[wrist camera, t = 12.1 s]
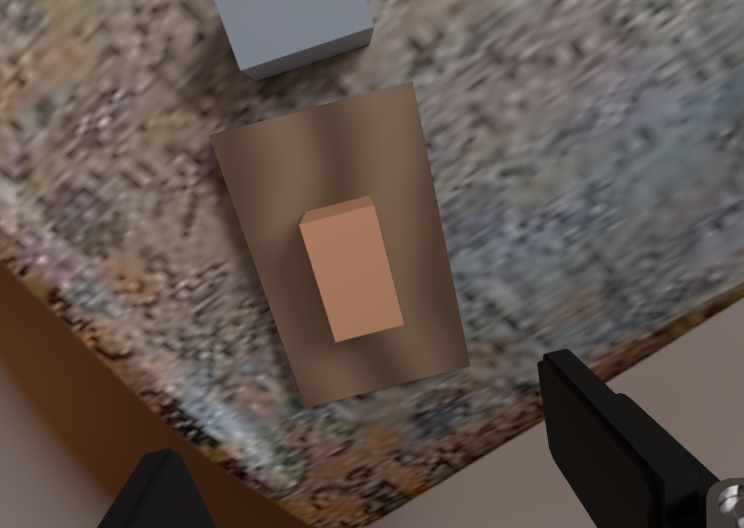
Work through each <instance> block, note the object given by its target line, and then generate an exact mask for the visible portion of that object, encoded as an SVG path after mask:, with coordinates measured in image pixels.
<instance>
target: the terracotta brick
mask: <svg viewBox="0 0 744 528" xmlns="http://www.w3.org/2000/svg"><path fill="white" fill-rule="evenodd" d="M299 226H300V229H301V233H302V236H303V239H304V242H305V245H306V249H307V252H308V255H309V258H310V262H311V265H312V268H313V271H314V274H315V278H316V281H317V284H318V287H319V291H320V294H321V297H322V300H323V303H324V307H325V310H326V313H327V316H328V320H329V323H330V326H331V329H332V332H333V336H334V339H335V342H339V341H343V340H347V339H350V338H354V337H358V336H362V335H366V334H370V333H374V332H378V331H382V330H385V329H389V328H393V327H397V326H401V325H404V323H403V319H402V315H401V311H400V307H399V303H398V299H397V295H396V291H395V287H394V283H393V279H392V275H391V271H390V267H389V263H388V259H387V255H386V251H385V247H384V243H383V239H382V235H381V231H380V227H379V223H378V219H377V215H376V211H375V207H374V204H373V202H372V200H371V197H370V195H369V196H365V197H361V198H357V199H353V200H349V201H346V202H342V203H338V204H334V205H330V206H327V207H323V208H319V209H315V210H311V211H307V212H306V213H305V215H304V217H303V219H302V220H301V222H300V224H299Z"/></svg>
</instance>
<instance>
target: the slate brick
mask: <svg viewBox="0 0 744 528" xmlns="http://www.w3.org/2000/svg"><path fill="white" fill-rule="evenodd" d="M215 3H216V6H217V9H218V11H219V14H220V17H221V19H222V22H223V25H224V28H225V30H226V33H227V36H228V38H229V41H230V44H231V47H232V49H233V52H234V55H235V57H236V60H237V63H238V65H239V68H240V71H242V72H243V73H245V74H246V75H248V76H249V77H251V78H252V79H254V80H255V81H258V80H261V79H264V78H268V77H271V76H274V75H277V74H280V73H283V72H286V71H289V70H292V69H295V68H298V67H301V66H304V65H307V64H310V63H313V62H316V61H319V60H323V59H326V58H329V57H332V56H335V55H338V54H341V53H344V52H347V51H350V50H353V49H356V48H359V47H362V46H365V45H368V44H370V41H371V37H372V33H373V29H374V24H373V20H372V17H371V13H370V9H369V5H368V2H367V0H215Z"/></svg>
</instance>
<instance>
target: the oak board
mask: <svg viewBox="0 0 744 528" xmlns="http://www.w3.org/2000/svg"><path fill="white" fill-rule="evenodd" d="M209 137H210V140H211V143H212V146H213V149H214V151H215V154H216V157H217V160H218V163H219V165H220V168H221V171H222V174H223V177H224V180H225V182H226V185H227V188H228V191H229V194H230V196H231V199H232V202H233V205H234V208H235V211H236V213H237V216H238V219H239V222H240V225H241V228H242V230H243V233H244V236H245V239H246V242H247V244H248V247H249V250H250V253H251V256H252V259H253V261H254V264H255V267H256V270H257V273H258V275H259V278H260V281H261V284H262V287H263V290H264V292H265V295H266V298H267V301H268V304H269V306H270V309H271V312H272V315H273V318H274V321H275V323H276V326H277V329H278V332H279V335H280V338H281V340H282V343H283V346H284V349H285V352H286V354H287V357H288V360H289V363H290V366H291V369H292V371H293V374H294V377H295V380H296V383H297V385H298V388H299V391H300V394H301V397H302V400H303V402H304V405H305V408H308V407H312V406H316V405H320V404H324V403H328V402H332V401H335V400H339V399H343V398H347V397H351V396H355V395H359V394H363V393H367V392H371V391H375V390H379V389H383V388H387V387H390V386H394V385H398V384H402V383H406V382H410V381H414V380H418V379H422V378H426V377H430V376H434V375H438V374H441V373H445V372H449V371H453V370H457V369H461V368H465V367H469V366H470V363H469V358H468V353H467V348H466V343H465V338H464V333H463V328H462V323H461V319H460V314H459V309H458V304H457V299H456V294H455V289H454V284H453V279H452V274H451V269H450V264H449V259H448V254H447V249H446V244H445V239H444V234H443V229H442V224H441V219H440V214H439V210H438V205H437V200H436V195H435V190H434V185H433V180H432V175H431V170H430V165H429V160H428V155H427V150H426V145H425V140H424V135H423V130H422V125H421V120H420V115H419V110H418V105H417V100H416V96H415V91H414V86H413V81H412V82H409V83H405V84H401V85H397V86H393V87H390V88H386V89H382V90H378V91H374V92H371V93H367V94H363V95H359V96H355V97H352V98H348V99H344V100H340V101H336V102H333V103H329V104H325V105H321V106H317V107H314V108H310V109H306V110H302V111H299V112H295V113H291V114H287V115H283V116H280V117H276V118H272V119H268V120H264V121H261V122H257V123H253V124H249V125H245V126H242V127H238V128H234V129H230V130H226V131H223V132H219V133H215V134H211V135H209ZM369 195H370V197H371V200H372V202H373V204H374V207H375V211H376V215H377V219H378V223H379V227H380V231H381V235H382V239H383V243H384V247H385V251H386V255H387V259H388V263H389V267H390V271H391V275H392V279H393V283H394V287H395V291H396V295H397V299H398V303H399V307H400V311H401V315H402V319H403V323H404V325H401V326H397V327H393V328H389V329H385V330H382V331H378V332H374V333H370V334H366V335H362V336H358V337H354V338H350V339H347V340H343V341H339V342H335V339H334V336H333V332H332V329H331V326H330V323H329V320H328V316H327V313H326V310H325V307H324V303H323V300H322V297H321V294H320V291H319V287H318V284H317V281H316V278H315V274H314V271H313V268H312V265H311V262H310V258H309V255H308V252H307V249H306V245H305V242H304V239H303V236H302V233H301V229H300V226H299V224H300V222H301V220H302V219H303V217H304V215H305V213H306V212H307V211H311V210H315V209H319V208H323V207H327V206H330V205H334V204H338V203H342V202H346V201H349V200H353V199H357V198H361V197H365V196H369Z"/></svg>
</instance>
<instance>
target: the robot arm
mask: <svg viewBox="0 0 744 528" xmlns="http://www.w3.org/2000/svg"><path fill="white" fill-rule="evenodd" d="M537 366H538V374H539V381H540V388H541V395H542V402H543V409H544V416H545V423H546V430H547V436H548V443H549V448H550V452H551V454H552V457H553V459H554V461H555V463H556V464H557V466H558V467H559V469H560V470H561V472H562V474H563V475H564V477H565V478H566V480H567V481H568V483H569V484H570V486H571V488H572V489H573V491H574V492H575V494H576V495H577V497H578V498H579V500H580V501H581V503H582V505H583V506H584V508H585V509H586V511H587V513H588V514H589V516H590V517H591V519H592V520H593V522H594V523H595V525H596V526H597V528H744V478H728V479H725V480H722V481H720V480H719V479H718V478H717V477H716V476H714V474H712V473H711V472H710V471H709V470H708V469H707V468H706V467H705V466H704V465H703V464H701V463H700V462H699V461H698V460H697V459H696V458H695V457H694V456H693V455H692V454H691V453H690V452H688V451H687V450H686V449H685V448H684V447H683V446H682V445H681V444H680V443H679V442H677V441H676V440H675V439H674V438H673V437H672V436H671V435H670V434H669V433H668V432H667V431H666V430H664V429H663V428H662V427H661V426H660V425H659V424H658V423H657V422H656V421H655V420H654V419H653V418H651V417H650V416H649V415H648V414H647V413H646V412H645V411H644V410H643V409H642V408H641V407H639V406H638V405H637V404H636V403H635V402H634V401H633V400H632V399H631V398H629V397H628V396H627V395H625V394H622V393H619V394H615V393H614V392H613V391H612V390H611V389H610V388H609V387H608V386H607V385H606V384H605V383H604V382H603V381H601V380H600V379H599V378H598V377H597V376H596V375H595V374H594V373H593V372H592V371H591V370H590V369H589V368H588V367H587V366H586V365H585V364H584V363H583V362H582V361H580V360H579V359H578V358H577V357H576V356H575V355H574V354H573V353H572V352H571V351H570V350H568V349H562V350H558V351H554V352H550V353H546V354H544V355H543V361H539V362H538V364H537ZM97 528H216V526H215V524H214V522H213V520H212V518H211V516H210V514H209V511H208V510H207V507H206V505H205V503H204V501H203V499H202V497H201V495H200V493H199V491H198V489H197V487H196V485H195V483H194V481H193V479H192V476H191V474H190V472H189V470H188V468H187V466H186V464H185V462H184V460H183V459H182V456H181V455H180V454H179V453H178V452H174V451H173V450H172V449H169V448H167V449H163V450H159V451H155V452H151V453H147V454H146V455H144V456H143V457H142V459H141V460H140V462H139V463H138V465H137V466H136V468H135V469H134V471H133V473H132V474H131V476H130V477H129V479H128V480H127V482H126V483H125V485H124V487H123V488H122V490H121V492H120V493H119V494H118V496H117V498H116V499H115V501H114V502H113V504H112V505H111V507H110V508H109V510H108V511H107V513H106V515H105V516H104V518H103V519H102V521H101V522H100V524H99V525H98V527H97Z"/></svg>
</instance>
